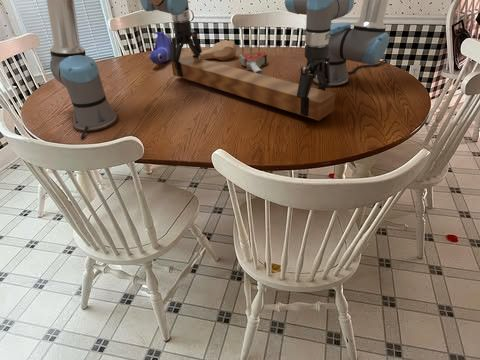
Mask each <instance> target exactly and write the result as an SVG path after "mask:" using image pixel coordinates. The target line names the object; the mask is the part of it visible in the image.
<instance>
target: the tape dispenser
mask: <svg viewBox="0 0 480 360" xmlns="http://www.w3.org/2000/svg"><path fill="white" fill-rule="evenodd" d="M253 55H256V56H253ZM267 55H268V54H267V53H266V52H265V51H258V52H252V53H245V54H242V53H241V54H240V55H239V63H240V64H242V66H243V67H246V70H247V71H252V72H254V73H258V74H262V75H263V69H262V68H261V67H262V66H265V65H267V62H268V60H267V58H268V56H267Z"/></svg>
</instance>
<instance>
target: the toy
mask: <svg viewBox="0 0 480 360" xmlns="http://www.w3.org/2000/svg"><path fill="white" fill-rule="evenodd" d="M153 34H154V35H157V36H156V38H155V42H154V50H152V51H150V53H149V56H148V58H149V60H150V61H151V62H152V63H153V64H155V65H156V68H157V69H159V67H160V64H163V63H166V62H170V40H169V38H170V37H171V36H170V35H168V36H167V35H166V34H165V33H164V32H163V31H160V32H159V31H155V32H154V33H153Z"/></svg>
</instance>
